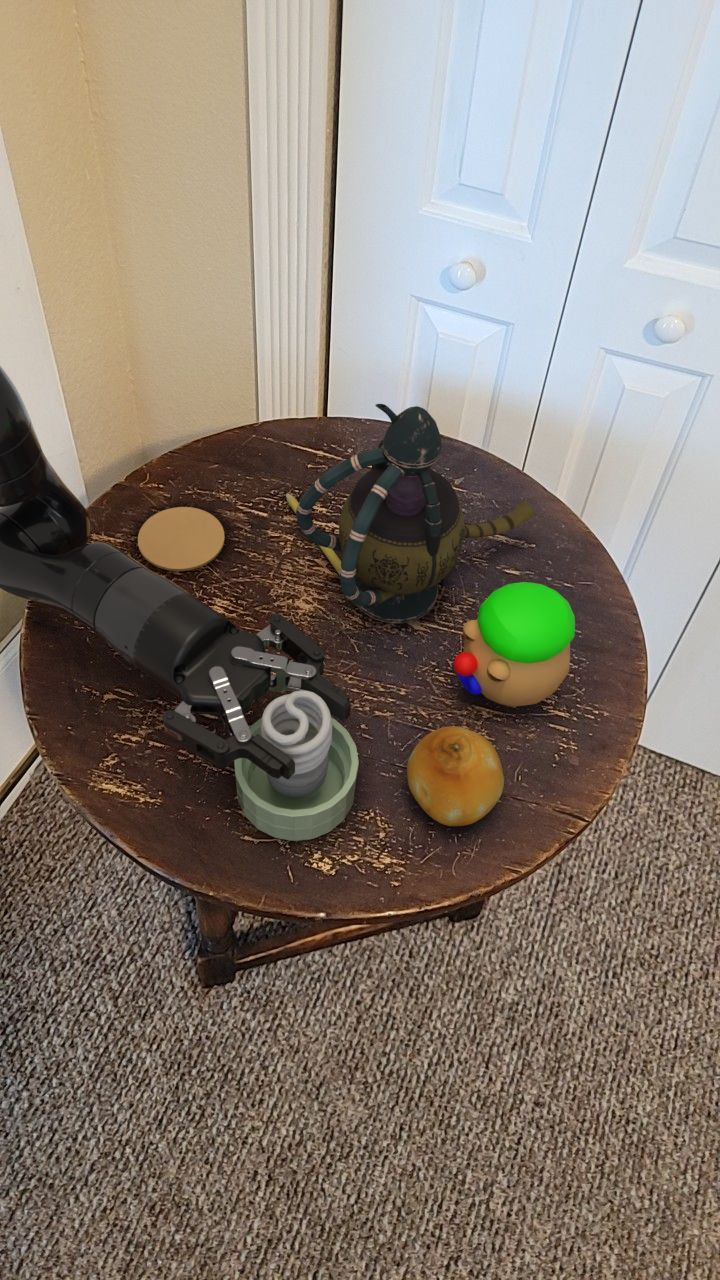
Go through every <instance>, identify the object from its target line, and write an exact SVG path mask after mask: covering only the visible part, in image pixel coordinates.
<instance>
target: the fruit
mask: <svg viewBox="0 0 720 1280" xmlns="http://www.w3.org/2000/svg"><path fill="white" fill-rule="evenodd" d="M406 766H407V767H406V777H407V778H406V779H407V784H408V788H409V790H410V793H411V795H412V796H413V798H414V799H415V801H416V802H417V804H418V805H419V807H420V808H421V809H422V810H423V811H424V812H425V813H426V814H427V815H428V816H429V818H431V819H432V820H434V821H436V822H438V823H439V824H441V825H444V826H446V827H462V826H469V825H472V824H474V823H476V822H478V821H479V820H482V819H483V818H484V817H486V815H487V814H488V813H490V812H491V811H492V809H493V808H494V807H495V806H496V804H497V803H498V802H499V800H500V798H501V796H502V794H503V790H504V787H505V786H504V784H505V777H504V776H505V775H504V771H503V767H502V762H501V759H500V757H499V755H498V753H497V750H496V748H495V747H494V745H493V744H492V742H491V741H490V740H489V739H487V738H486V737H485V736H483V735H481V734H480V733H478V732H476V731H473V730H471V729H468V728H466V727H463V726H458V725H450V726H443V727H440V728H438V729H435V730H433V731H431V732H429V733H427V735H425V736H424V737H423V738H422V739H420V741H419V742H418V743H417V744H416V746H415V747H414V748H413V750H412V751H411V753H410V755H409V758H408V760H407V765H406Z"/></svg>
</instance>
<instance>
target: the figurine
mask: <svg viewBox="0 0 720 1280" xmlns="http://www.w3.org/2000/svg"><path fill="white" fill-rule="evenodd" d="M462 627H463V628H462V633H461V634H462V636H463V638H464V639H463V640H464V641H463V649H462V650H463V652H460V653H458V654H457V655H456V656H455V657H454V660H453V668H454V671H455V672H456V674H457V677H458V679H459V681H460V682H461V685H462V686H463V687H464V689H465V690H466V691H467V692H468V693H469V694H471V695H474V696H476V695H477V696H478V695H480V694H482V695H483V697H485V698H486V699H487V700H490V701H492V702H494V703H496V704H499V705H503V706H506V707H510V708H515V707H522V706H524V707H525V706H530V705H531V706H532V705H536V704H538V703H540V702H542V701H543V700H545V699H547V698H548V697H550V696H552V695H553V694H554V693H555V692H556V690H557V689H558V688H559V687H560V685H561V684H562V683H563V682H564V680H565V678H566V677H567V676H568V674H569V673H570V668H571V667H570V665H571V642H572V641H573V640H574V638H575V637H576V618H575V614H574V612H573V610H572V607H571V604H570V602H569V601H568V600H567V599H566V598H565V597H564V596H563V595H561V594H560V592H558V591H557V590H555V589H554V588H551V587H548V586H547V585H544V584H542V583H536V582H529V581H520V582H513V583H507V584H506V585H503V586H501V587H500V588H497V589H496V590H493V591H492V592H491V593H490V595H489V596H487V598H486V599H485V600H484V601H483V603H482V604H480V605H479V607H478V614H477V618H476V619H471V620H468V621H466V622H465V623H464V624H463V626H462Z"/></svg>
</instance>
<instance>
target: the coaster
mask: <svg viewBox="0 0 720 1280" xmlns="http://www.w3.org/2000/svg"><path fill="white" fill-rule="evenodd" d="M225 537H226V536H225V530H224V527H223V525H222V523H221V522H220V521H219V520H218V519H217V517H216V516H214V515H213V514H212V513H210V512H208V511H206V510H204V509H200V508H196V507H190V506H177V507H171V508H167V509H164V510H161V511H159V512H157V513H155V514H153V515H151V516H150V517H149V518H147V519H146V521H145V522H144V523H143V524H142V525H141V527H140V528H139V531H138V534H137V546H138V550H139V552H140V554H141V556H142V557H143V558H144V559H145V560H146V561H147V562H148V563H149V564H151V565H152V566H154V567H156V568H159V569H162V570H164V571H169V572H188V571H193V570H196V569H197V570H198V569H200V568H202V567H204V566H206V565H208V564H209V563H211V562H212V561H213V560H215V559H216V558H217V557H218V556H219V554H220V553H221V552H222V549H223V548H224V545H225V539H226V538H225Z"/></svg>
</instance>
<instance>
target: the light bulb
mask: <svg viewBox="0 0 720 1280" xmlns="http://www.w3.org/2000/svg"><path fill="white" fill-rule="evenodd" d="M331 717H332V714H331V713H330V710H329V708H328V707H327V705H326V703H325V702H324V700H323V699H322V698H321V697H320V696H318V695H317V694H315V693H313V692H310V691H305V690H300V691H295V692H294V691H292V692H291V693H289V694H284V695H280V696H278V697H276V698H274V699H273V700H271V701H270V702H269V703H268V704H267V705H266V707H265V708H264V710H263V713H262V717H261V718H262V723H261V737H263V738H264V739H266V740H267V741H268V742H270V743H271V744H273V745H274V746H275V747H277V748H278V749H279V750H281V751H282V752H284V753H285V754H286V755H288V756H289V757H290V758H292V759H293V761H294V762H295V773H294V774H293V775H292V776H291V777H290V778H289V779H285V778H284V777H283V776H281V777H280V778H279V779H278V778H274V777H271V776H270V775H269V774H267V773H266V774H267V778H268V781H269V783H270V784H271V786H272V787H273V788H274V789H275V790H276V791H277V792H279V793H281V794H283V795H285V796H287V797H294V798H299V797H305V796H308V795H310V794H312V793H314V792H315V791H317V790H318V789H319V788H320V787H321V785H322V784H323V783H324V780H325V777H326V774H327V769H328V763H329V755H328V751H329V748H330V745H331V741H332V722H331ZM290 719H299V721H300V724H299V723H297V722H296V721H295V720H290ZM309 723H310V724H311V725H313V726H314V727H315V728H316V730H317V731H318V734H317V735H316V734H314V733H312V732H310V731H308V725H309ZM285 729H290V730H286V731H283V732H281V733H279V732H280V731H282V730H285Z"/></svg>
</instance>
